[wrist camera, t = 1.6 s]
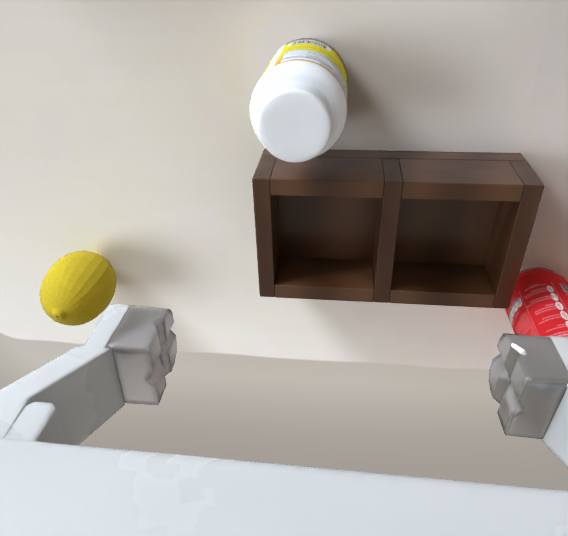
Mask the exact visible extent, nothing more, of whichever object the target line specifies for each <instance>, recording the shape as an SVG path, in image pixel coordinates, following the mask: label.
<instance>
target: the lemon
mask: <svg viewBox="0 0 568 536" xmlns="http://www.w3.org/2000/svg"><path fill="white" fill-rule="evenodd" d="M115 288H116V276H115V272H114V270H113V268H112V266H111V265H110V263H109V262H108V261H107V260H106V259H105V258H104V257H102V256H100V255H99V254H96V253H93V252H88V251H77V252H73V253H70V254H67V255H65V256H64V257H62V258H61V259H59V260H58V261H57V262H55V263H54V264H53V265H52V267H51V268H50V269H49V271H48V272H47V274H46V276H45V277H44V279H43V282H42V285H41V289H40V301H41V304H42V307H43V309H44V311H45V312H46V313H47V315H48V316H49V317H50V318H52V319H53V320H55V321H56V322H59V323H61V324H65V325H81V324H84V323H87V322H89V321H91V320H93V319H94V318H96V317H97V316H98V315H99V314H100V313H101V312H103V311H104V310H105V309H106V307H107V306H108V305H109V303H110V301H111V299H112V297H113V295H114V292H115Z"/></svg>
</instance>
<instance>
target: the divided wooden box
mask: <svg viewBox="0 0 568 536" xmlns="http://www.w3.org/2000/svg"><path fill="white" fill-rule="evenodd" d="M252 183H253V198H254V213H255V228H256V244H257V259H258V274H259V290H260V296H265V297H282V298H302V299H322V300H343V301H363V302H373V301H374V302H386V303H388V302H389V303H404V304H424V305H445V306H465V307H486V308H507V309H508V308H509V306H510V303H511V299H512V296H513V292H514V289H515V285H516V282H517V279H518V275H519V272H520V268H521V265H522V261H523V258H524V254H525V251H526V247H527V244H528V240H529V237H530V234H531V230H532V227H533V223H534V220H535V216H536V213H537V209H538V206H539V202H540V199H541V195H542V192H543V189H544V185H543V183H542V182H541V180H540V179H539V178H538V176H537V175H536V174H535V172H534V171H533V170H532V168H531V167H530V165H529V164H528V163H527V161H526V160H525V159H524V158H523V156H522V155H521V154H520V153H472V152H414V151H356V150H327V151H326V152H325V153H323V154H321V155H319V156H317V157H314V158H312V159H310V160H307V161H304V162H287V161H283V160H281V159H278V158H277V157H275V156H273V155H272V154H271V153H270V152H269V151H268V150H267V149H264V151H263V153H262V156H261V158H260V161H259V164H258V166H257V169H256V171H255V174H254V176H253V179H252Z"/></svg>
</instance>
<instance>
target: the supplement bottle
mask: <svg viewBox="0 0 568 536" xmlns="http://www.w3.org/2000/svg"><path fill="white" fill-rule="evenodd" d="M250 118H251V123H252V126H253V129H254V131H255V133H256V135H257V137H258V138H259V140H260V141H261V142H262V144H263V145H264V147H265V148H266V149H267V150H268V151H269V152H270V153H271V154H272V155H273V156H275V157H277V158H278V159H281V160H283V161H287V162H304V161H307V160H310V159H312V158H314V157H317V156H319V155H321V154H323V153H325V152H326V151H327V150H329V149H330V148H331V147H332V146H333V145H334V144H335V143H336V142H337V140H338V139H339V137H340V136H341V134H342V132H343V129H344V126H345V123H346V118H347V73H346V68H345V65H344V63H343V61H342V59H341V57H340V56H339V54H338V53H337V52H336V51H335V49H333V48H332V47H331V46H330V45H328V44H327V43H325V42H323V41H321V40H318V39H314V38H300V39H296V40H293V41H291V42H289V43H287V44H285V45H284V46H282V47H281V48H280V49H279V50H278V51H277V52H276V53H275V55H274V56H273V58H272V59H271V61H270V63H269V64H268V66H267V68H266V70H265V71H264V73H263V75H262V76H261V78H260V80H259V81H258V83H257V85H256V87H255V89H254V91H253V94H252V98H251V102H250Z"/></svg>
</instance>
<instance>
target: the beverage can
mask: <svg viewBox="0 0 568 536" xmlns="http://www.w3.org/2000/svg"><path fill="white" fill-rule="evenodd" d="M505 310H506V312H507V315H508V318H509V320H510V323H511V325H512V328H513V330H514V333H515V334H519V335H534V336H559V337H568V281H567V280H566V279H565V278H563V277H562V276H560V275H558V274H556V273H554V272H553V271H551V270H548V269H545V268H531V269H527V270H524V271H522V272H520V273H519V275H518V279H517V282H516V285H515V289H514V292H513V296H512V299H511V303H510V306H509V308H508V309H507V308H505Z"/></svg>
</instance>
